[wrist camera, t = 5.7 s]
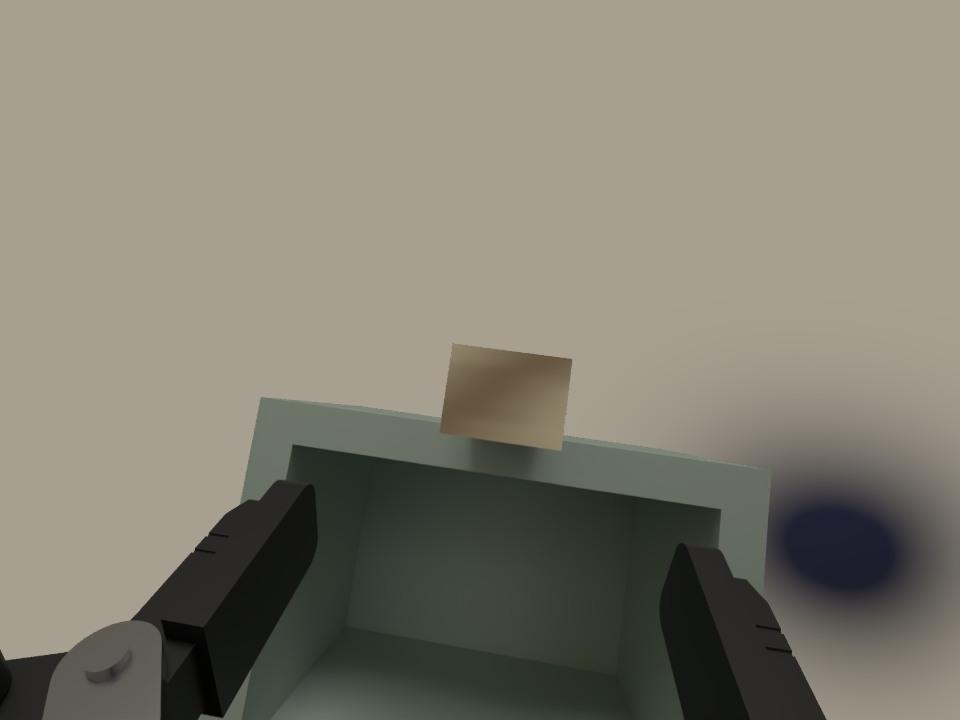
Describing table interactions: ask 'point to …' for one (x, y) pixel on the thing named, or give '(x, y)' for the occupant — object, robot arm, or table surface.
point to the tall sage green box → (483, 570)
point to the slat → (506, 396)
